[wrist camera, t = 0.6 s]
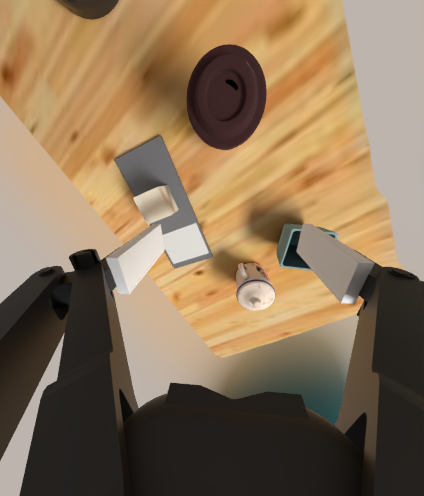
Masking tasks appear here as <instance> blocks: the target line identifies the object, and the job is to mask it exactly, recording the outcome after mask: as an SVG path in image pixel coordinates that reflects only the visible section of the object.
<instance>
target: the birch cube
mask: <svg viewBox="0 0 424 496" xmlns="http://www.w3.org/2000/svg"><path fill="white" fill-rule="evenodd" d="M133 199H134V201H135V203H136V205H137V206H138V208H139V210H140V212H141V214H142V215H143V217H144V219H145V221H146V223H147V224H150V223H153V222H155V221H158V220H160V219H163V218H166V217H168V216H171V215H172V214H174V213H175V212H177V211H178V210H179V208H178V206H177V204H176V201H175V199H174V197H173V195H172V193H171V191H170V188H169V186H168V185H165V186H159V187H156V188H154V189H152V190H149V191H147V192H145V193H143V194H140V195H138V196H136V197H134V198H133Z"/></svg>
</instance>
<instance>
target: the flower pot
mask: <svg viewBox="0 0 424 496" xmlns="http://www.w3.org/2000/svg"><path fill="white" fill-rule="evenodd" d="M317 228H319V229H320V230H322V231H324V232H325V233H327V234H329V235H330V236H332V237H333V238H335V239H337V237H338V234H337V233H335V232H332V231H330V230H327V229H324V228H321V227H317ZM301 230H302V225H297V224H288V223H286V224H284V226H283V230H282V233H281V236H280V240H279V243H278V246H277V257H278V260H279V264H280V266H281V267H285V268H294V269H304V270H312V269H311V268H310V267H309V266H308V264H307V263H306V262H305V261H304V260H303V259H302V258H301V256H300V255H299V254H298V253H297V252H296V251H297V247H298V243H299V238H300V234H301ZM297 236H299V237H297ZM290 241H291V242H290ZM312 271H313V270H312Z"/></svg>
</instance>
